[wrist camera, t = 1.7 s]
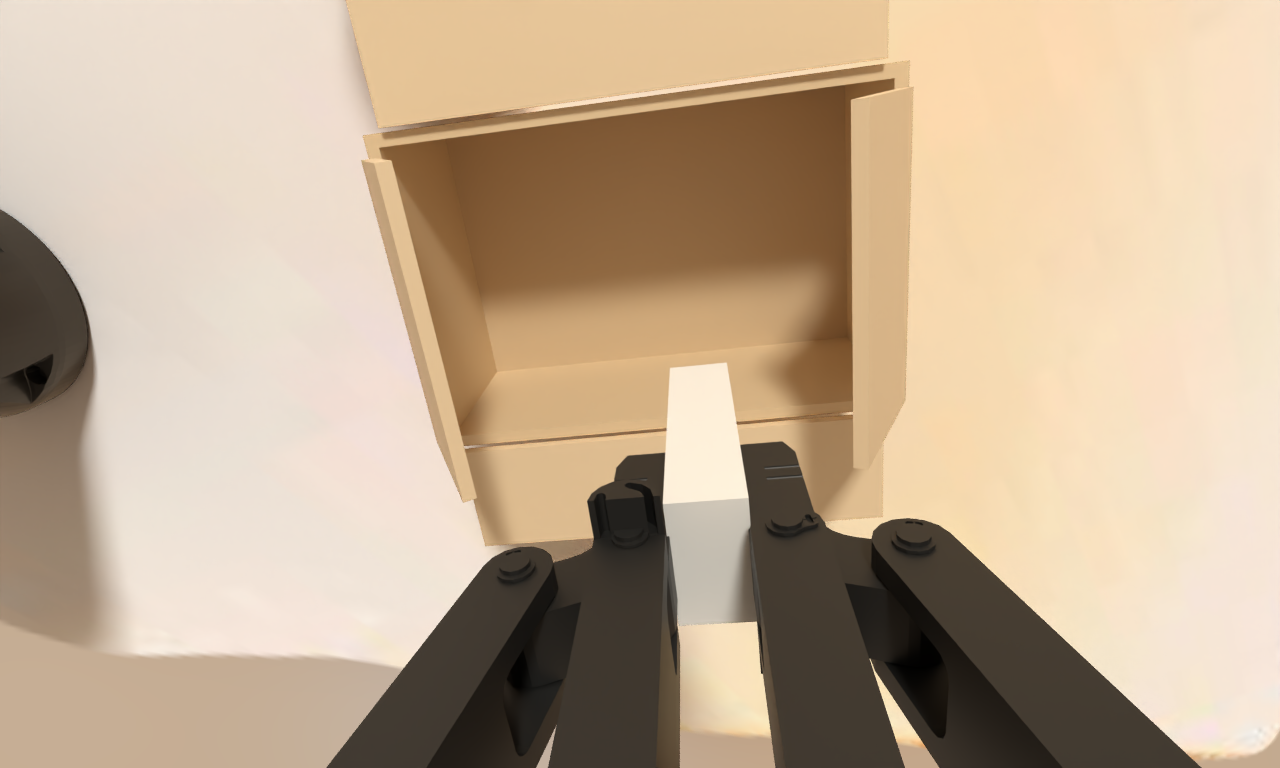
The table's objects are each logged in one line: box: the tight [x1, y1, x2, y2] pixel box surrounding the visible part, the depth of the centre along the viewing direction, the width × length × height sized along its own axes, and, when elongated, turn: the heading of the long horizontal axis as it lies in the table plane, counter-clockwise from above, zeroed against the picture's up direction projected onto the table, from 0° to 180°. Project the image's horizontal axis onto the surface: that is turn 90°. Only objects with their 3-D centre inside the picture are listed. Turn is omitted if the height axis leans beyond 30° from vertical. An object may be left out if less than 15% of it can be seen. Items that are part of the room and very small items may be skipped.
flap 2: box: [851, 87, 913, 470], centre depth 28 cm, size 1×14×7 cm, turn 7°
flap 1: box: [361, 158, 477, 503], centre depth 30 cm, size 1×14×7 cm, turn 8°
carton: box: [346, 0, 910, 546], centre depth 37 cm, size 24×28×10 cm
